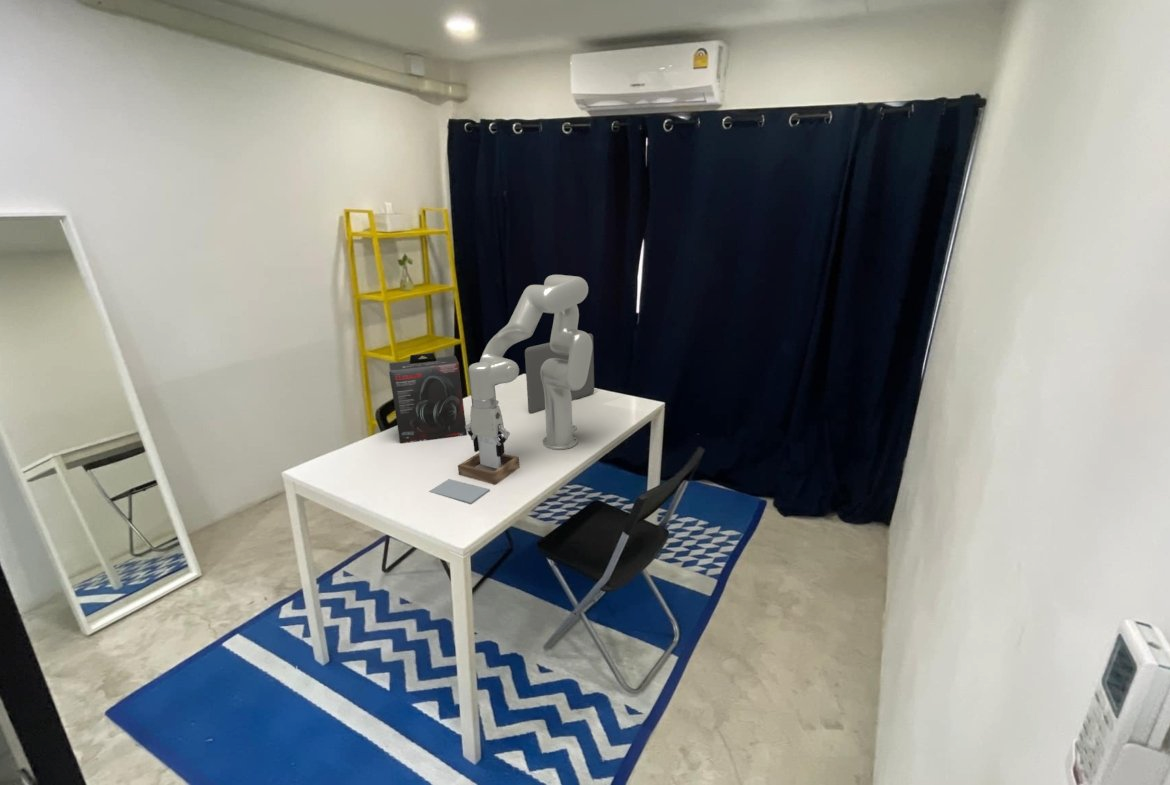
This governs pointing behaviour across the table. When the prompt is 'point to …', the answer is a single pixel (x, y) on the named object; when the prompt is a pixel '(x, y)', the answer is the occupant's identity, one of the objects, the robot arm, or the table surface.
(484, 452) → the hard drive
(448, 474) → the table surface
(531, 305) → the robot arm
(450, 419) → the headset box
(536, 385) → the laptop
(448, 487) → the mat
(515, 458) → the wooden square frame
